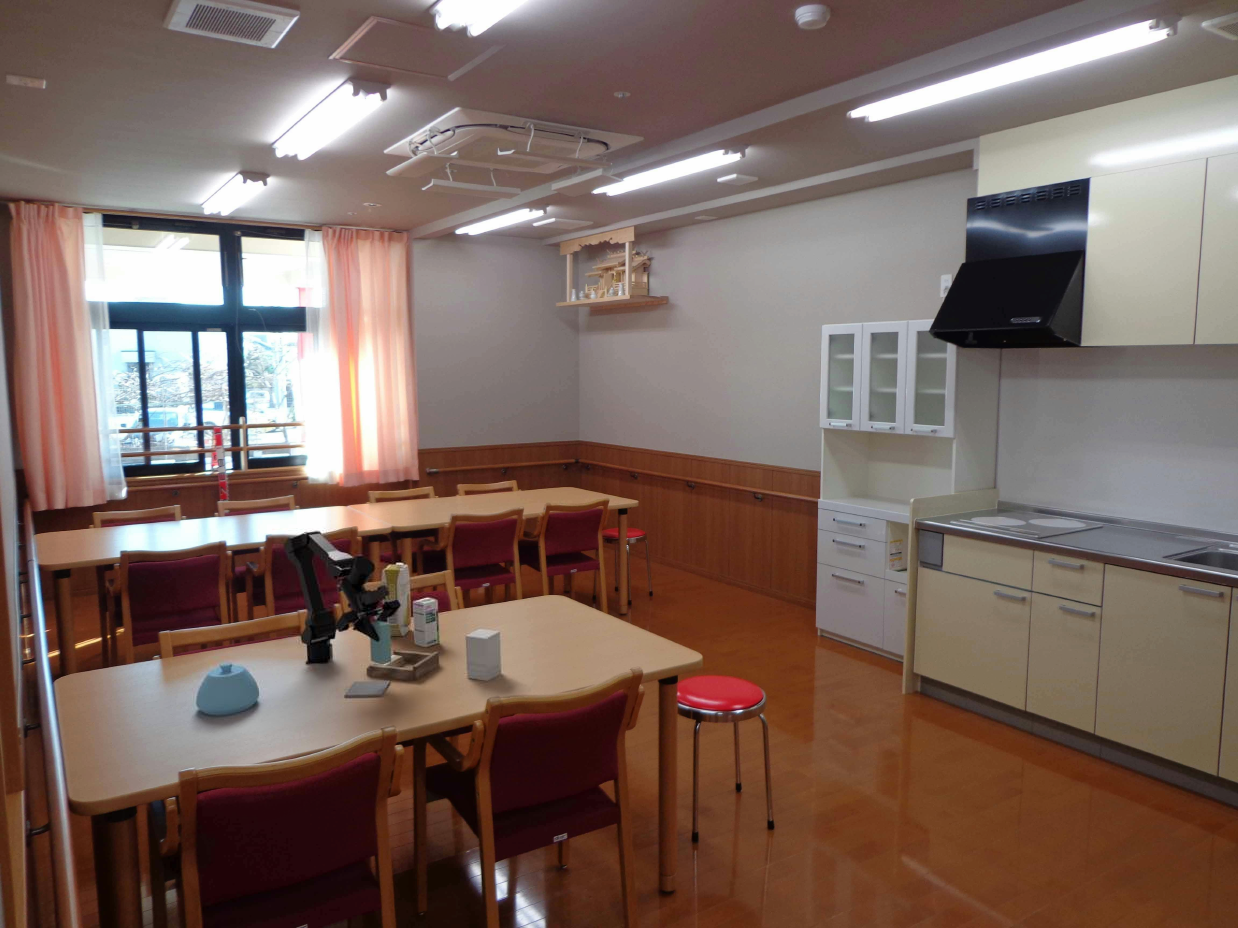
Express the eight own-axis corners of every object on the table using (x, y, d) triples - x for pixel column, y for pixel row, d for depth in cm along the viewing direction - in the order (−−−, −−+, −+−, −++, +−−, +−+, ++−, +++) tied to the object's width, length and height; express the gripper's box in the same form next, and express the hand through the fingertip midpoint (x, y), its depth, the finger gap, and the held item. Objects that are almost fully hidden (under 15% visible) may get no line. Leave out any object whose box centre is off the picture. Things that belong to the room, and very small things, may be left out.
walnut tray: (365, 675, 238) (365, 661, 238) (392, 659, 252) (391, 646, 252) (415, 680, 234) (415, 667, 233) (440, 664, 247) (439, 651, 247)
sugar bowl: (218, 722, 207) (216, 678, 205) (184, 710, 215) (182, 667, 213) (271, 702, 219) (269, 660, 218) (237, 691, 227) (235, 650, 226)
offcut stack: (374, 674, 240) (373, 664, 240) (392, 663, 250) (392, 653, 249) (387, 676, 239) (387, 666, 239) (405, 664, 248) (405, 654, 248)
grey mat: (344, 697, 222) (344, 695, 222) (354, 683, 232) (354, 681, 232) (381, 696, 223) (381, 694, 223) (390, 682, 233) (390, 680, 233)
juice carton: (405, 637, 273) (403, 566, 271) (382, 637, 273) (379, 566, 271) (413, 628, 283) (410, 560, 280) (390, 628, 283) (387, 560, 280)
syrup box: (425, 647, 263) (424, 603, 261) (413, 644, 266) (412, 600, 265) (439, 642, 267) (438, 599, 265) (427, 639, 271) (426, 596, 269)
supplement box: (502, 673, 240) (501, 631, 238) (487, 681, 233) (486, 638, 232) (480, 669, 243) (479, 627, 241) (466, 677, 236) (464, 635, 235)
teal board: (371, 660, 230) (369, 622, 229) (379, 657, 233) (378, 620, 232) (382, 664, 228) (381, 625, 226) (391, 661, 230) (390, 623, 229)
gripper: (340, 584, 222) (368, 631, 217) (395, 571, 237) (422, 614, 232) (324, 608, 228) (350, 654, 223) (379, 593, 243) (405, 636, 238)
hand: (383, 639), depth 229 cm, fingers closed on teal board, 3 cm apart
